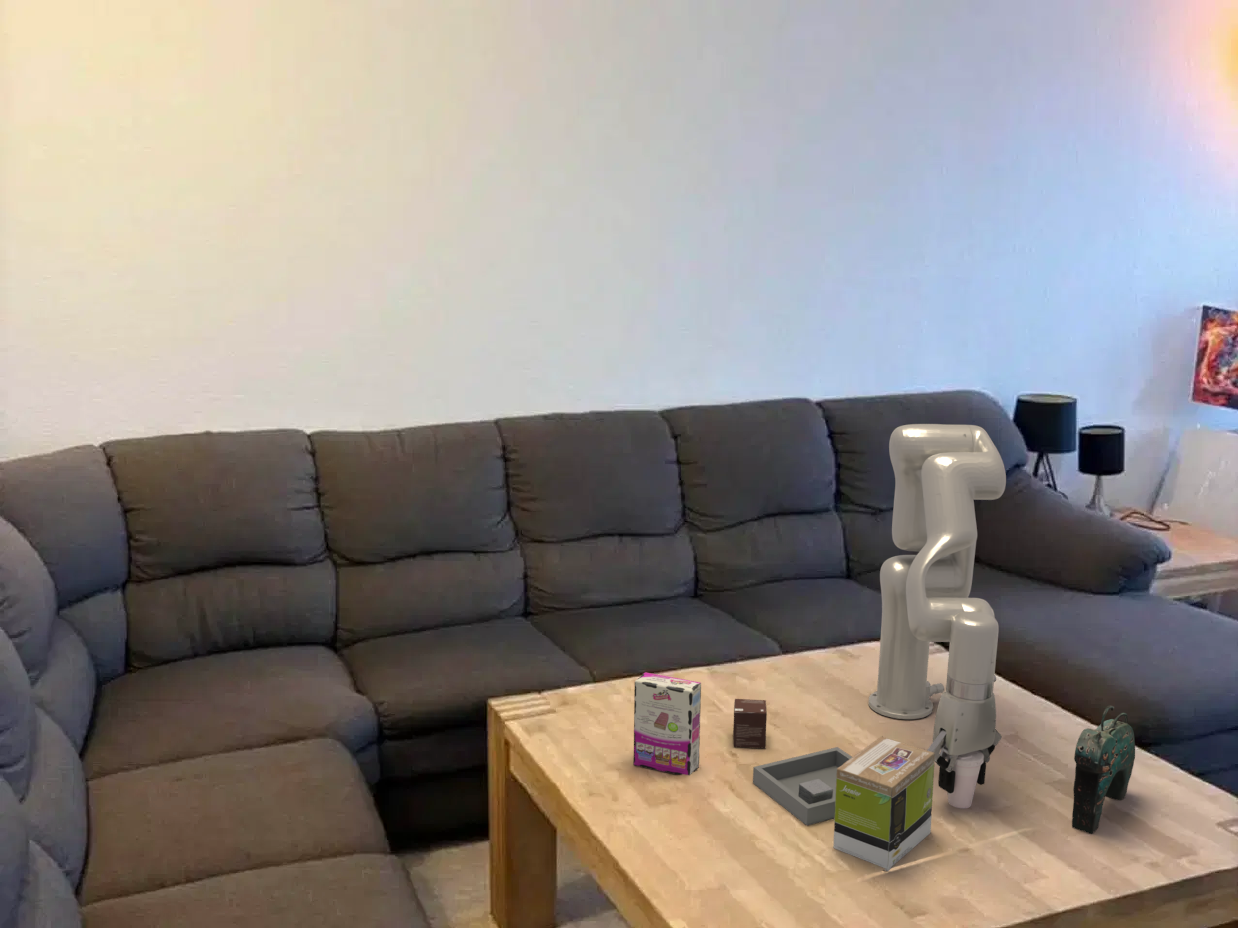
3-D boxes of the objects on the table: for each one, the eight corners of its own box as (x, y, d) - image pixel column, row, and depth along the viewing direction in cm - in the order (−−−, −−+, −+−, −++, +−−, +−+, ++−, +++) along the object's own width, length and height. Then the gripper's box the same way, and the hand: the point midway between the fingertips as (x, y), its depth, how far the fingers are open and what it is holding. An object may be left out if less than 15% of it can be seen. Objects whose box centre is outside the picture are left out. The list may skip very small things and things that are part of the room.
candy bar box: (700, 766, 224) (703, 681, 220) (689, 778, 219) (692, 691, 216) (643, 753, 228) (645, 670, 225) (631, 765, 224) (633, 680, 220)
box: (765, 735, 237) (766, 699, 235) (765, 749, 231) (767, 713, 229) (732, 733, 237) (734, 697, 236) (732, 747, 231) (734, 711, 230)
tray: (836, 765, 225) (837, 746, 224) (893, 804, 211) (895, 785, 210) (752, 785, 217) (753, 766, 216) (806, 828, 203) (807, 808, 202)
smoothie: (935, 808, 210) (942, 731, 207) (945, 792, 216) (952, 717, 212) (974, 818, 207) (982, 740, 204) (982, 802, 213) (990, 726, 210)
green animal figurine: (1094, 841, 201) (1108, 726, 196) (1055, 827, 205) (1067, 714, 200) (1137, 796, 216) (1150, 688, 211) (1100, 784, 220) (1112, 678, 215)
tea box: (876, 815, 208) (881, 733, 205) (931, 835, 202) (938, 751, 198) (830, 851, 197) (835, 765, 193) (888, 874, 190) (894, 785, 187)
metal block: (817, 800, 211) (818, 778, 210) (831, 810, 208) (833, 789, 207) (797, 805, 209) (799, 783, 209) (812, 816, 206) (813, 794, 205)
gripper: (992, 669, 214) (984, 765, 218) (913, 686, 206) (906, 786, 210) (1025, 685, 207) (1015, 784, 211) (944, 703, 199) (936, 806, 203)
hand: (961, 784), depth 211 cm, fingers closed on smoothie, 6 cm apart
